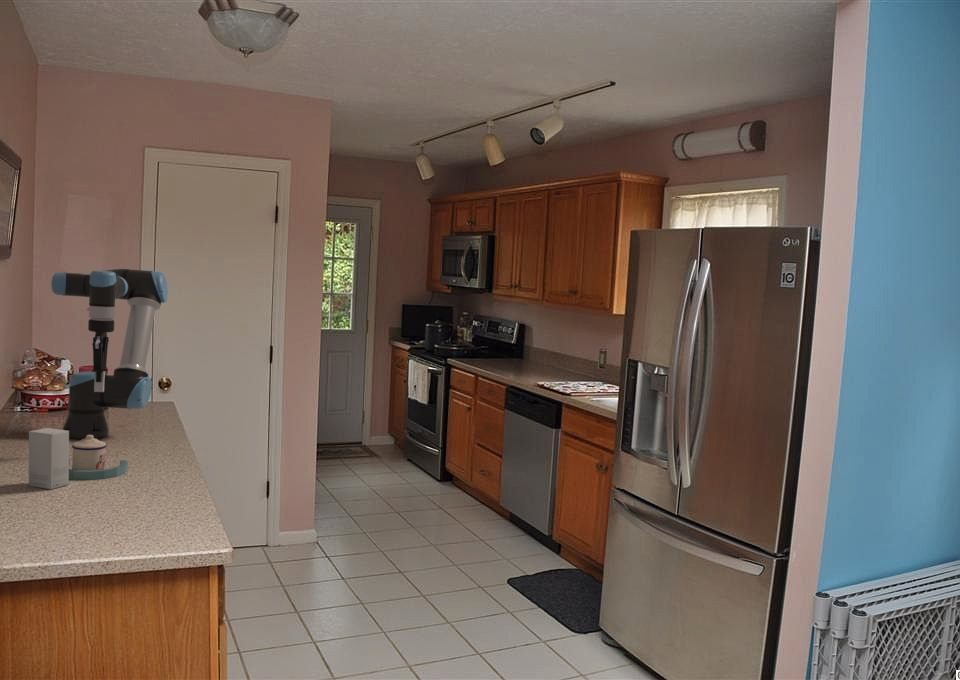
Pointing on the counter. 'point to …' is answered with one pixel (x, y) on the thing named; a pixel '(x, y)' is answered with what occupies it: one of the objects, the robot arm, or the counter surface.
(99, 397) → the robot arm
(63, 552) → the counter surface
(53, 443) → the skincare box
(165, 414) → the counter surface
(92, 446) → the teacup with lid
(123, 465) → the open curved ring
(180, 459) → the counter surface
